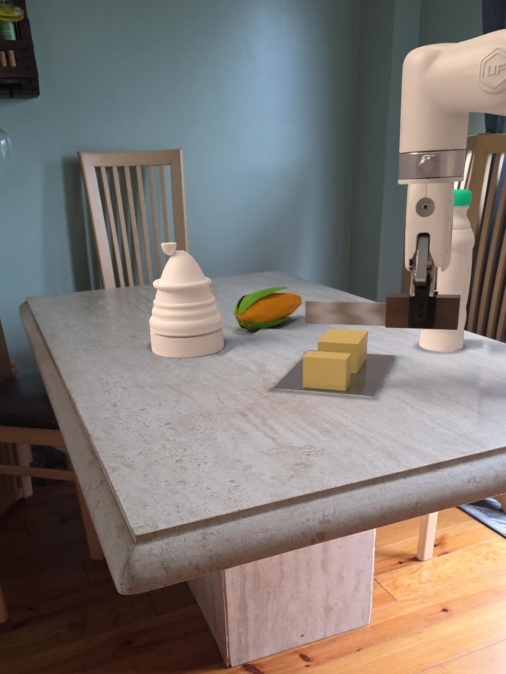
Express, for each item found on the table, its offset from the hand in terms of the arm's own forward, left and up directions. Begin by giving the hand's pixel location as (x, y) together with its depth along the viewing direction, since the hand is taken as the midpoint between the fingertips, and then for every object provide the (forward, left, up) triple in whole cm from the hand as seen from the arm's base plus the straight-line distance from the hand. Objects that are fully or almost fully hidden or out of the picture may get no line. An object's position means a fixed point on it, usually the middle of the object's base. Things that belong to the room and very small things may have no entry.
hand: (422, 323), depth 80 cm
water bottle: (-1, -24, -10) cm, 26 cm away
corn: (+33, -36, -10) cm, 49 cm away
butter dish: (+12, -6, -10) cm, 17 cm away
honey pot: (+42, -16, -10) cm, 46 cm away
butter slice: (+12, +2, -9) cm, 15 cm away
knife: (+6, 0, 0) cm, 6 cm away
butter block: (+12, -9, -9) cm, 17 cm away
